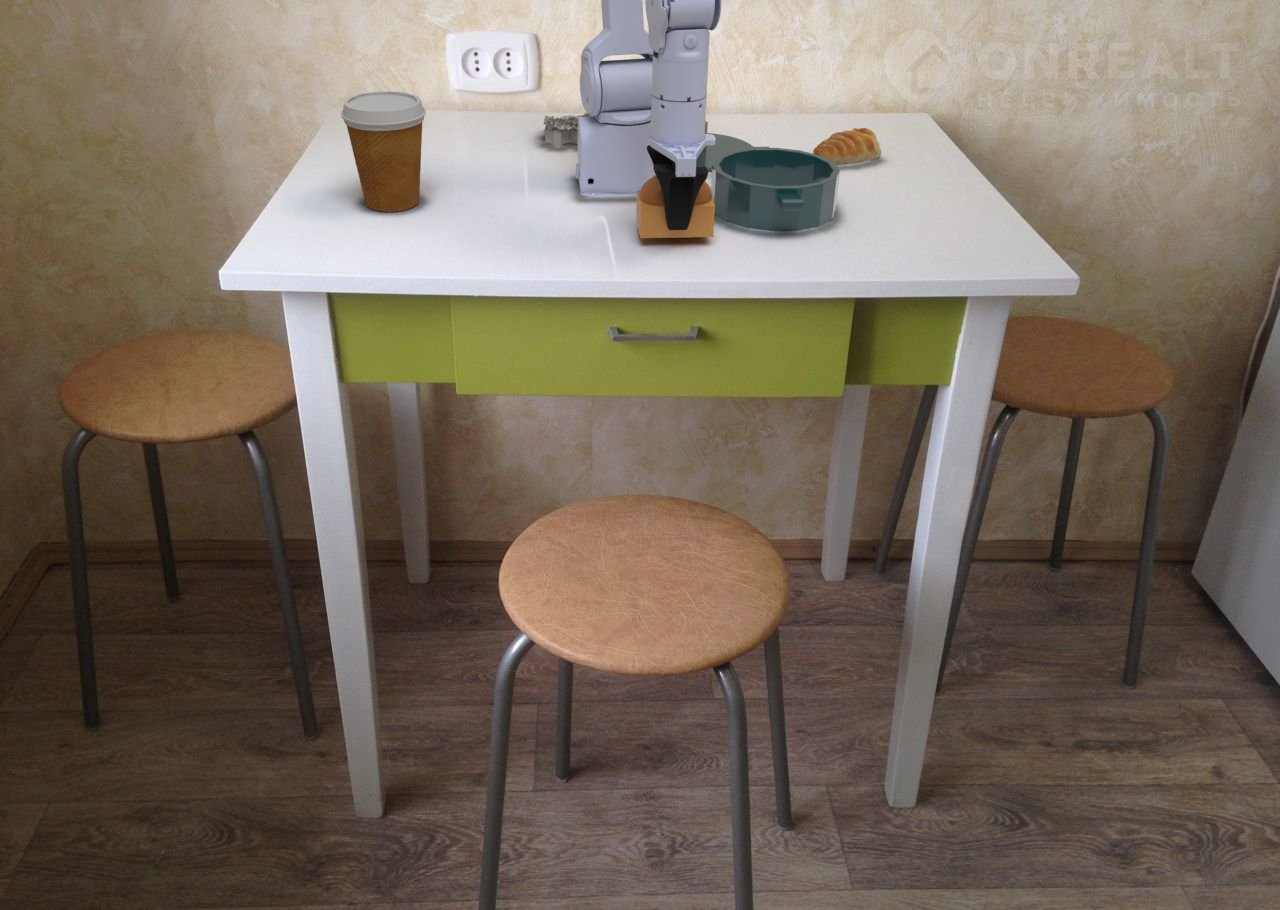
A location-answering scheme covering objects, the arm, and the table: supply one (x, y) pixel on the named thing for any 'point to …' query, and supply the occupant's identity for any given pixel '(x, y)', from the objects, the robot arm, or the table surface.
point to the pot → (774, 188)
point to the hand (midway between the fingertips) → (674, 219)
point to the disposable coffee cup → (386, 147)
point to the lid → (719, 149)
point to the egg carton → (562, 129)
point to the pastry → (850, 147)
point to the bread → (654, 219)
